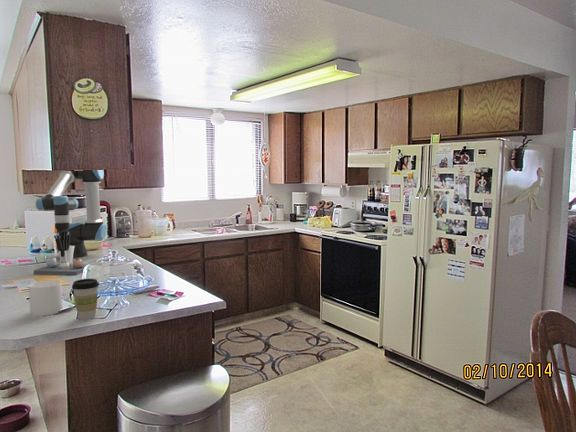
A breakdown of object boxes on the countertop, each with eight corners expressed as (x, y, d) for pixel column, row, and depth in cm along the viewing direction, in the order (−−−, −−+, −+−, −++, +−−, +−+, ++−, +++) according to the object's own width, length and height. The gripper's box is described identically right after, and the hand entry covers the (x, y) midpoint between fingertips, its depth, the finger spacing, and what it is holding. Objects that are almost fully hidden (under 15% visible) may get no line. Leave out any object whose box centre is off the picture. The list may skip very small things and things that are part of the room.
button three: (76, 265, 248) (75, 258, 247) (83, 265, 247) (83, 258, 247) (71, 267, 243) (70, 259, 243) (78, 267, 243) (78, 259, 242)
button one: (50, 265, 249) (50, 257, 249) (58, 265, 249) (57, 257, 248) (45, 266, 245) (44, 259, 244) (53, 267, 244) (52, 259, 244)
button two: (63, 268, 249) (63, 261, 248) (71, 268, 248) (70, 261, 248) (58, 270, 244) (57, 262, 244) (66, 270, 244) (65, 263, 243)
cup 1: (54, 305, 184) (52, 278, 182) (67, 310, 177) (66, 283, 176) (25, 312, 174) (23, 284, 173) (38, 318, 167) (36, 289, 166)
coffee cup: (88, 322, 163) (86, 285, 161) (67, 320, 165) (65, 283, 164) (105, 314, 172) (104, 279, 170) (86, 312, 175) (84, 277, 173)
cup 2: (78, 262, 268) (77, 245, 267) (69, 265, 259) (68, 248, 257) (64, 262, 269) (63, 245, 268) (54, 265, 260) (53, 248, 258)
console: (54, 266, 256) (53, 263, 256) (94, 267, 254) (94, 264, 254) (33, 273, 239) (33, 270, 238) (76, 275, 236) (76, 271, 236)
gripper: (63, 220, 250) (65, 259, 252) (48, 223, 237) (51, 264, 239) (74, 220, 249) (76, 259, 252) (61, 223, 236) (63, 264, 239)
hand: (64, 261), depth 246 cm, fingers closed
